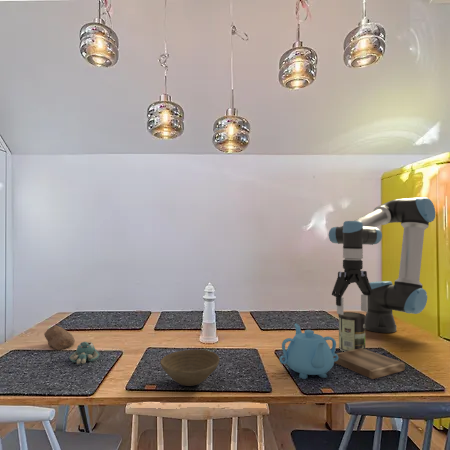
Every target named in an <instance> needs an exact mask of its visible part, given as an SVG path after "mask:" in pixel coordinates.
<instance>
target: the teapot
mask: <svg viewBox="0 0 450 450" xmlns="http://www.w3.org/2000/svg"><path fill="white" fill-rule="evenodd" d="M294 327H295V335H294V336H293V338H291V337H289V338H288V337H287V338H286V339H284V340H283V341H282V343H281V349H282V355H281V356H280V357H279V362H280V363H281V364H283V365H286V364H287V366H288V367H289V368H290V369H291V370H292V371H293V372H296V373H298V378H299V379H301V378H302V380H306V378H307V379H308V375H309V376H310V375H311V376H316V375H317V376H318V377H320V378H321V379H323V378H325V379H326V378H328V375H327V373H328V372H329V371H330V370H332V368H333V367H334V364H335V363H334V362H336V361H337V360H338V355H337V354H336V353H335V352H336V348H337V340H335V338H333V337H331V336H323V335H320V334H319V333H315V330H312V329H305V330H304V332H302V330H301V327H300V324H298V323H294ZM327 341H331V342H332V346H331V347H330V345H329V344H328V342H327ZM288 342H289V344H288V346H287V348H286V344H287V343H288ZM334 356H336V357H335V358H333V357H334ZM283 358H284V359H283Z"/></svg>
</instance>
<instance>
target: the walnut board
mask: <svg viewBox="0 0 450 450" xmlns="http://www.w3.org/2000/svg"><path fill="white" fill-rule="evenodd" d="M335 354H337V355H338V360H337V361H336V362H334V364H336V365H338V366H340V365H341V367H342V368H346V369H347V368H348V370H350V371H352V372H354V373H357V374H359V375H361V376H364V377H366V378H369V379H371V380H375V379H379V378H382V377H385V376H389V375H393V374H397V373H400V372H403V371H405V370H406V369H405V366H406V364H405V362H402V361H401V360H397V359H395V358H393V357H392V358H391V357H389V356H386V355H383V354H381V353H377V352H374V351H372V350H369V349H366V348H365V349H362V348H359V349H355V350H350V351H345V352H343V351H340V352H337V353H335ZM335 357H336V356H334V357H333V358H335Z"/></svg>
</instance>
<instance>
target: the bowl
mask: <svg viewBox="0 0 450 450" xmlns="http://www.w3.org/2000/svg"><path fill="white" fill-rule="evenodd" d="M159 362H160V366H161V368H162V370H163V371H164V372H165V373H166V374H167V375H168V376H169V377H170V378H172V380H173V381H174V382H175V383H177V384H178V385H181V386H185V387H192V386H196V385H199V384H200V383H202V382H204V381H206V379H208V378H209V376H210V375H211V374H212V373H214V371H215V370H216V369H217V367H218V365H219V363H220V356H219V355H218V354H217V353H215V352H214V351H210V350H206V349H205V350H204V349H184V350H179V351H175V352H171V353H169V354H166V355H165V356H163V358H161V359H160V361H159Z"/></svg>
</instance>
